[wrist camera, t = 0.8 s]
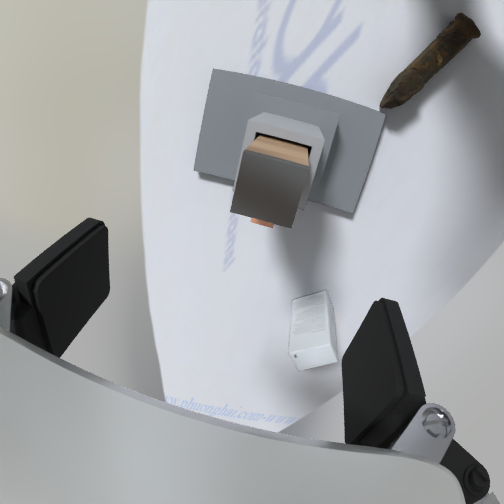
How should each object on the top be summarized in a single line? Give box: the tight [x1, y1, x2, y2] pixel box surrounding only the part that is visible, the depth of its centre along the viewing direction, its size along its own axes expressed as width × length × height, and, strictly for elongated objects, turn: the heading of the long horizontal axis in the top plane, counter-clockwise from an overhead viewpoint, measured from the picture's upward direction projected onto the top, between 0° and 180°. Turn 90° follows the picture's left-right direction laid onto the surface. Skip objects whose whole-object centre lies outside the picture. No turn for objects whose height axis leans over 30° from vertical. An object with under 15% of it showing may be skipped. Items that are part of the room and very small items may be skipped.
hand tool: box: [380, 13, 481, 108], centre depth 29 cm, size 19×4×5 cm, turn 137°
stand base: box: [194, 69, 386, 228], centre depth 32 cm, size 14×22×16 cm, turn 77°
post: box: [230, 133, 309, 228], centre depth 26 cm, size 4×4×17 cm
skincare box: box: [288, 290, 338, 371], centre depth 45 cm, size 6×4×12 cm
